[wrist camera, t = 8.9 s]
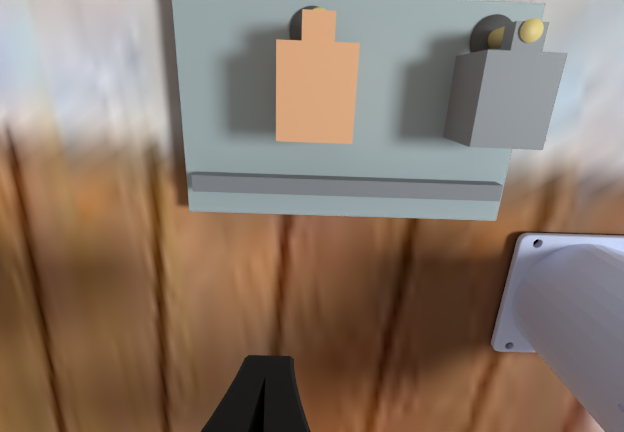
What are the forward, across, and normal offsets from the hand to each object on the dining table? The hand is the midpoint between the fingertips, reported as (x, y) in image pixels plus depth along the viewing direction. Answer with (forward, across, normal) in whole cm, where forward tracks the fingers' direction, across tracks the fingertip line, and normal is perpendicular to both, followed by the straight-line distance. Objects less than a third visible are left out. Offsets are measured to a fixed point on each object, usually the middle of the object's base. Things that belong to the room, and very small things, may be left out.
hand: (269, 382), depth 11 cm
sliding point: (+9, -1, -9) cm, 12 cm away
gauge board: (+10, -3, -7) cm, 13 cm away
